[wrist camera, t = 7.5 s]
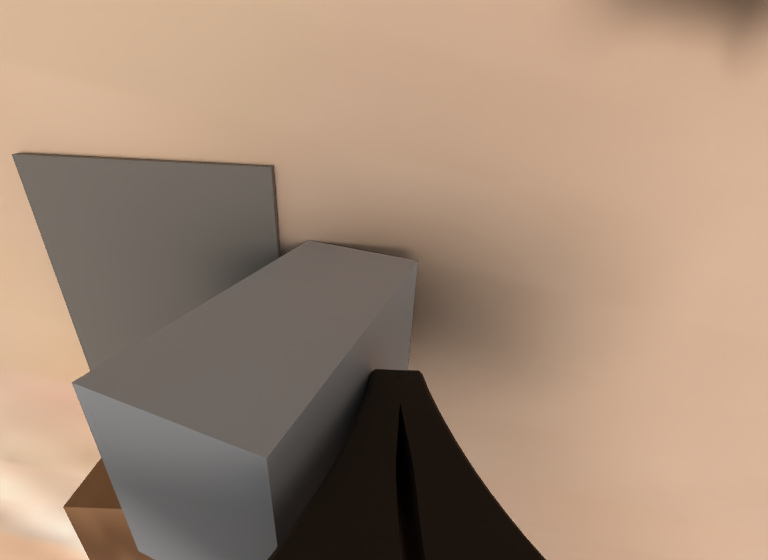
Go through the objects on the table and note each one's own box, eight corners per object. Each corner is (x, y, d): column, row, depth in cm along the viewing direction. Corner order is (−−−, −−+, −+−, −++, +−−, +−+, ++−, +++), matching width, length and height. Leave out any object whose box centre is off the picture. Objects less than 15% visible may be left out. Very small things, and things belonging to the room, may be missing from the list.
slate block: (406, 382, 15) (287, 631, 8) (313, 355, 16) (138, 550, 9) (418, 260, 12) (266, 458, 6) (308, 240, 13) (71, 382, 7)
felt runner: (300, 517, 20) (298, 522, 20) (146, 511, 20) (143, 517, 20) (273, 165, 12) (271, 167, 12) (19, 152, 12) (12, 154, 12)
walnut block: (303, 592, 16) (102, 586, 15) (319, 498, 19) (156, 492, 19) (297, 515, 13) (63, 506, 13) (316, 425, 17) (132, 418, 17)
